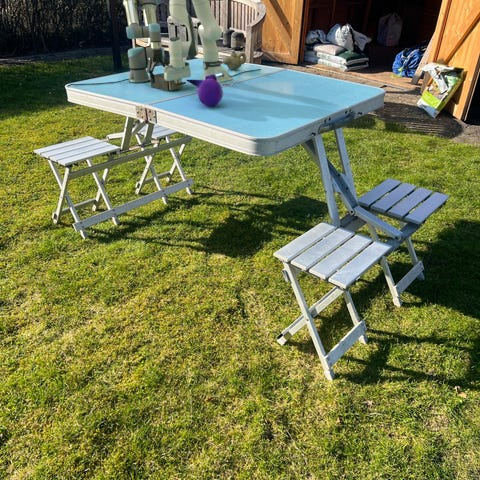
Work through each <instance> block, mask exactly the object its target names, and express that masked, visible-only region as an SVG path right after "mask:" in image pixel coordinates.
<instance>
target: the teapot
mask: <svg viewBox="0 0 480 480" xmlns="http://www.w3.org/2000/svg"><path fill="white" fill-rule="evenodd" d="M241 58H242V59H241ZM222 61H223V62H224V63H223V65H225V66H227V69H228V71H229V70H230V71H238V70H239V69H240V68H241V67H242V65H244V64H245V63H246V61H247V56H246V53H245V52H243V51H242V52H239V54H237V53H236V52H235V50H232V51H231V54H230V56H226V57H224V58H223V60H222Z"/></svg>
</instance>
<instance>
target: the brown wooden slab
mask: <svg viewBox="0 0 480 480" xmlns="http://www.w3.org/2000/svg"><path fill="white" fill-rule="evenodd" d="M149 79H150V80H151V78H150V77H149ZM154 82H155V83H151V82H150V87H151V88H153V89H157V90H161V91H164V92H173V91H177V90H181V89H182V88H179V89H174V90H170V89H169V82H168V81H166V80H165V79H164V72H162V73H157V74H154Z"/></svg>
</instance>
